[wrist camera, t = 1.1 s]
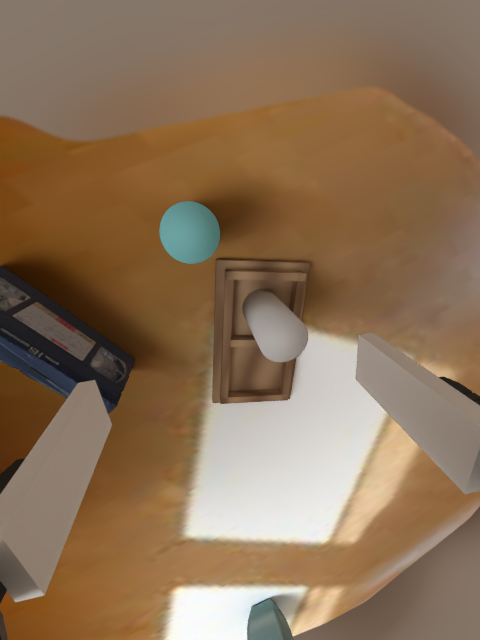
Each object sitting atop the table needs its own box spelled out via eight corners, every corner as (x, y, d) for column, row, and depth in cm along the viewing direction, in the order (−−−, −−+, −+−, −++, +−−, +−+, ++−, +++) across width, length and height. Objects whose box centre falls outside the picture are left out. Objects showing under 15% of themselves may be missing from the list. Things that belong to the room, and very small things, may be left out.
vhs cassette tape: (137, 358, 37) (118, 406, 28) (122, 372, 37) (99, 424, 28) (4, 260, 30) (-79, 281, 21) (-12, 278, 31) (-100, 306, 21)
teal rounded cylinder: (170, 248, 32) (160, 262, 23) (168, 203, 31) (158, 199, 21) (212, 250, 33) (219, 264, 24) (213, 206, 31) (221, 203, 22)
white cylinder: (240, 325, 36) (257, 362, 27) (243, 288, 34) (261, 316, 25) (276, 324, 37) (304, 361, 28) (280, 289, 35) (311, 316, 26)
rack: (212, 398, 41) (213, 409, 39) (216, 258, 34) (217, 262, 31) (287, 394, 43) (293, 405, 41) (307, 262, 36) (315, 265, 33)
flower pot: (287, 605, 67) (300, 660, 59) (255, 620, 67) (264, 677, 59) (274, 590, 64) (286, 646, 55) (240, 606, 64) (247, 664, 56)
